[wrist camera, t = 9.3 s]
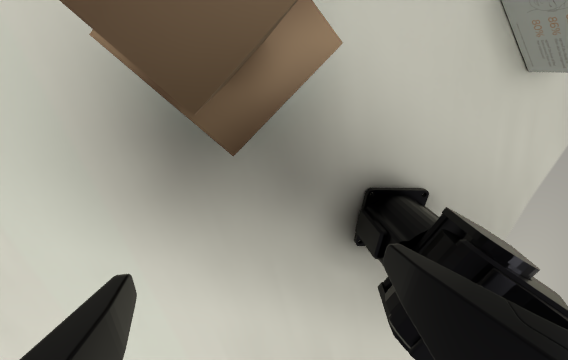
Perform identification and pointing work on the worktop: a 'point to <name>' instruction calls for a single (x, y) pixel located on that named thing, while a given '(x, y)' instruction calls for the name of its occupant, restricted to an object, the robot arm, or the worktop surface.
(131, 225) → the worktop surface
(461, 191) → the worktop surface
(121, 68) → the worktop surface
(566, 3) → the small box
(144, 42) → the brown upright piece
